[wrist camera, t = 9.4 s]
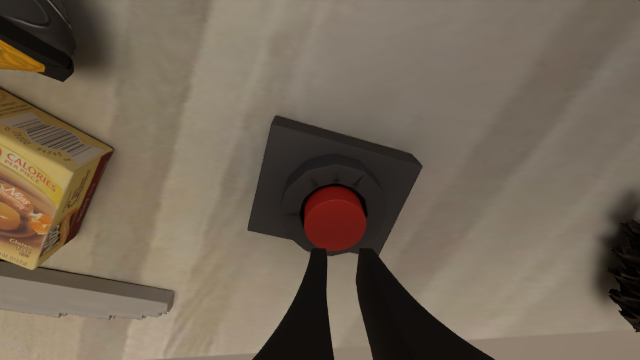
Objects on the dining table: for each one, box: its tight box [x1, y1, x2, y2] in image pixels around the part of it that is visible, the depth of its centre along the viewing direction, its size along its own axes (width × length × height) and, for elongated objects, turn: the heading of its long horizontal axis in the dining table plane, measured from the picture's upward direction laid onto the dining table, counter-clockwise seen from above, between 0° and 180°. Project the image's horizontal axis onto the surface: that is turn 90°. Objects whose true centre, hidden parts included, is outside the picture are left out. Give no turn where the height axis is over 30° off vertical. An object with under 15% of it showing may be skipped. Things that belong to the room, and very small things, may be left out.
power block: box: [248, 116, 422, 256], centre depth 19 cm, size 10×8×4 cm
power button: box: [304, 186, 366, 251], centre depth 17 cm, size 4×4×2 cm
